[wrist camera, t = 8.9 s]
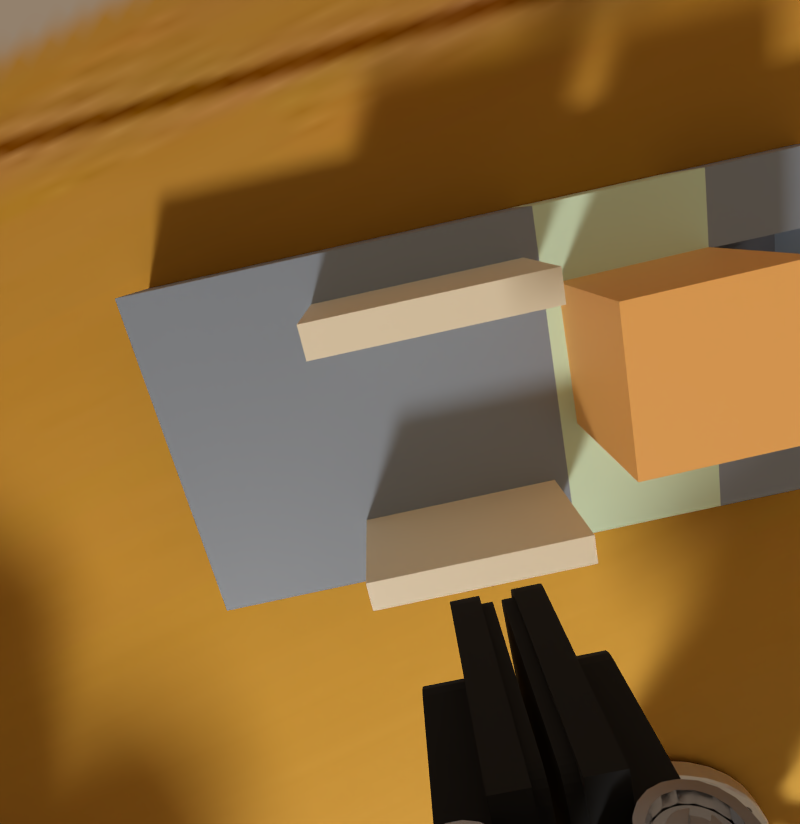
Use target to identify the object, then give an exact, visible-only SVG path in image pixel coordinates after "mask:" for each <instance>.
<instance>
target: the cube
mask: <svg viewBox="0 0 800 824" xmlns="http://www.w3.org/2000/svg"><path fill="white" fill-rule="evenodd" d="M563 282H564V290H565V299H566V305H562V306H561V310H562V317H563V324H564V331H565V338H566V346H567V353H568V360H569V367H570V374H571V382H572V389H573V396H574V403H575V410H576V418H577V423H578V424H579V425H580V426H581V427H582V428H583V429H584V430H585V431H586V432H587V433H588V434H589V435H590V436H591V437H592V438H593V439H594V440H595V441H596V442H597V443H598V444H599V445H600V446H601V447H602V448H603V449H604V450H606V451H607V452H608V453H609V454H610V455H611V456H612V457H613V458H614V459H615V460H616V461H617V462H618V463H619V464H620V465H621V466H622V467H623V468H624V469H625V470H626V471H627V472H628V473H629V474H630V475H631V476H632V477H633V478H634V479H636V480H637V481H638V482H642V481H647V480H651V479H656V478H660V477H664V476H669V475H673V474H678V473H682V472H687V471H691V470H695V469H700V468H704V467H709V466H713V465H718V464H722V463H727V462H731V461H735V460H740V459H744V458H749V457H753V456H758V455H762V454H767V453H771V452H775V451H780V450H784V449H789V448H793V447H798V446H800V254H796V253H783V252H769V251H755V250H742V249H728V248H715V247H707V248H703V249H698V250H694V251H690V252H685V253H681V254H677V255H672V256H668V257H664V258H660V259H655V260H651V261H647V262H642V263H638V264H634V265H630V266H625V267H621V268H617V269H612V270H608V271H604V272H600V273H595V274H591V275H587V276H582V277H578V278H574V279H570V280H565V281H563Z"/></svg>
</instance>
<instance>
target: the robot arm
mask: <svg viewBox="0 0 800 824" xmlns="http://www.w3.org/2000/svg"><path fill="white" fill-rule="evenodd" d="M511 595H512V598H509V599H504V600H502V607H503V612H504V617H505V622H506V627H507V633H508V638H509V643H510V648H511V653H512V659H513V664H514V669H515V672H514V669H513V666H512V663H511V660H510V656H509V653H508V650H507V647H506V643H505V640H504V637H503V634H502V631H501V627H500V624H499V621H498V618H497V614H496V611H495V608H494V605H493V602H489V603H484V604H481V601H480V598H479V596H476V597H471V598H466V599H461V600H457V601H452V602H450V605H451V610H452V616H453V621H454V626H455V632H456V637H457V642H458V648H459V653H460V658H461V664H462V669H463V675H464V679H459V680H454V681H449V682H444V683H439V684H434V685H429V686H424V687H423V689H422V691H423V705H424V717H425V729H426V740H427V752H428V764H429V776H430V788H431V799H432V811H433V823H434V824H769V823H768V820H767V819H766V817H765V815H764V814H763V812H762V811H761V809H760V807H759V806H758V804H757V803H756V801H755V799H754V798H753V797H752V796H751V795H750V793H749V792H748V791H747V790H746V789H745V788H744V786H743V785H741V784H740V783H739V782H737V781H736V780H734V779H733V778H732V777H730V776H729V775H727V774H725V773H722V772H720V771H718V770H715V769H713V768H711V767H708V766H703V765H699V764H694V763H690V762H678V761H670V759H669V757H668V755H667V754H666V752H665V750H664V748H663V746H662V745H661V743H660V741H659V739H658V738H657V736H656V734H655V732H654V731H653V729H652V727H651V725H650V723H649V722H648V720H647V718H646V716H645V715H644V713H643V711H642V709H641V707H640V706H639V704H638V702H637V700H636V699H635V697H634V695H633V693H632V692H631V690H630V688H629V686H628V684H627V683H626V681H625V679H624V677H623V676H622V674H621V672H620V670H619V669H618V667H617V665H616V663H615V661H614V660H613V658H612V657H611V655H610V654H609V652H607V651H606V650H605V651H600V652H595V653H590V654H585V655H580V656H576V655H575V653H574V651H573V649H572V646H571V644H570V642H569V640H568V638H567V636H566V634H565V632H564V630H563V628H562V625H561V623H560V621H559V619H558V617H557V615H556V613H555V611H554V609H553V607H552V604H551V602H550V600H549V598H548V596H547V594H546V592H545V590H544V588H543V586H542V584H535V585H531V586H526V587H521V588H516V589H511ZM515 674H516V676H515Z"/></svg>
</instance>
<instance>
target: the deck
mask: <svg viewBox="0 0 800 824" xmlns="http://www.w3.org/2000/svg"><path fill="white" fill-rule="evenodd" d="M707 247H715V248H728V249H742V250H755V251H769V252H783V253H796V254H800V144H795V145H791V146H786V147H782V148H777V149H773V150H768V151H764V152H759V153H755V154H750V155H746V156H741V157H737V158H732V159H728V160H724V161H719V162H715V163H710V164H706V165H701V166H697V167H692V168H688V169H683V170H679V171H674V172H670V173H665V174H661V175H656V176H652V177H647V178H643V179H638V180H634V181H629V182H625V183H620V184H616V185H611V186H607V187H602V188H598V189H593V190H589V191H584V192H580V193H575V194H571V195H566V196H562V197H557V198H553V199H548V200H544V201H539V202H535V203H530V204H526V205H521V206H517V207H513V208H508V209H504V210H499V211H495V212H490V213H486V214H481V215H477V216H472V217H468V218H463V219H459V220H454V221H450V222H445V223H441V224H436V225H432V226H427V227H423V228H418V229H414V230H409V231H405V232H400V233H396V234H391V235H387V236H382V237H378V238H373V239H369V240H364V241H360V242H355V243H351V244H346V245H342V246H337V247H333V248H328V249H324V250H319V251H315V252H310V253H306V254H301V255H297V256H293V257H288V258H284V259H279V260H275V261H270V262H266V263H261V264H257V265H252V266H248V267H243V268H239V269H234V270H230V271H225V272H221V273H216V274H212V275H207V276H203V277H198V278H194V279H189V280H185V281H180V282H176V283H171V284H167V285H162V286H158V287H153V288H149V289H145V290H142V291H139V292H135V293H132V294H129V295H125V296H122V297H119V298H115V300H116V303H117V306H118V308H119V311H120V314H121V317H122V320H123V322H124V325H125V328H126V331H127V333H128V336H129V339H130V342H131V345H132V347H133V350H134V353H135V356H136V358H137V361H138V364H139V367H140V370H141V372H142V375H143V378H144V381H145V383H146V386H147V389H148V392H149V395H150V397H151V400H152V403H153V406H154V409H155V411H156V414H157V417H158V420H159V422H160V425H161V428H162V431H163V434H164V436H165V439H166V442H167V445H168V447H169V450H170V453H171V456H172V459H173V461H174V464H175V467H176V470H177V472H178V475H179V478H180V481H181V484H182V486H183V489H184V492H185V495H186V497H187V500H188V503H189V506H190V509H191V511H192V514H193V517H194V520H195V523H196V525H197V528H198V531H199V534H200V536H201V539H202V542H203V545H204V548H205V550H206V553H207V556H208V559H209V561H210V564H211V567H212V570H213V573H214V575H215V578H216V581H217V584H218V586H219V589H220V592H221V595H222V598H223V600H224V603H225V606H226V609H227V611H228V610H232V609H237V608H242V607H247V606H251V605H256V604H261V603H265V602H270V601H275V600H280V599H284V598H289V597H294V596H298V595H303V594H308V593H312V592H317V591H322V590H327V589H331V588H336V587H341V586H345V585H350V584H355V583H360V582H364V581H366V585H367V589H368V593H369V597H370V600H371V604H372V608H373V611H376V610H381V609H385V608H390V607H395V606H400V605H404V604H409V603H414V602H419V601H423V600H428V599H433V598H437V597H442V596H447V595H452V594H456V593H461V592H466V591H471V590H475V589H480V588H485V587H489V586H494V585H499V584H504V583H508V582H513V581H518V580H523V579H527V578H532V577H537V576H541V575H546V574H551V573H556V572H560V571H565V570H570V569H575V568H579V567H584V566H589V565H593V564H598V559H597V551H596V542H595V535H594V534H593V533H595V532H600V531H604V530H609V529H614V528H618V527H623V526H628V525H633V524H637V523H642V522H647V521H651V520H656V519H661V518H665V517H670V516H675V515H680V514H684V513H689V512H694V511H698V510H703V509H708V508H713V507H717V506H722V505H727V504H731V503H736V502H741V501H746V500H750V499H755V498H760V497H764V496H769V495H774V494H778V493H783V492H788V491H793V490H797V489H800V446H798V447H793V448H789V449H784V450H780V451H775V452H771V453H767V454H762V455H758V456H753V457H749V458H744V459H740V460H735V461H731V462H727V463H722V464H718V465H713V466H709V467H704V468H700V469H695V470H691V471H687V472H682V473H678V474H673V475H669V476H664V477H660V478H656V479H651V480H647V481H642V482H638V481H637V480H636V479H634V478H633V477H632V476H631V475H630V474H629V473H628V472H627V471H626V470H625V469H624V468H623V467H622V466H621V465H620V464H619V463H618V462H617V461H616V460H615V459H614V458H613V457H612V456H611V455H610V454H609V453H608V452H607V451H606V450H604V449H603V448H602V447H601V446H600V445H599V444H598V443H597V442H596V441H595V440H594V439H593V438H592V437H591V436H590V435H589V434H588V433H587V432H586V431H585V430H584V429H583V428H582V427H581V426H580V425H579V424H578V423H577V418H576V410H575V403H574V396H573V389H572V382H571V374H570V367H569V360H568V353H567V346H566V338H565V331H564V324H563V317H562V310H561V306H562V305H566V299H565V290H564V282H563V281H565V280H570V279H574V278H578V277H582V276H587V275H591V274H595V273H600V272H604V271H608V270H612V269H617V268H621V267H625V266H630V265H634V264H638V263H642V262H647V261H651V260H655V259H660V258H664V257H668V256H672V255H677V254H681V253H685V252H690V251H694V250H698V249H703V248H707Z"/></svg>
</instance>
